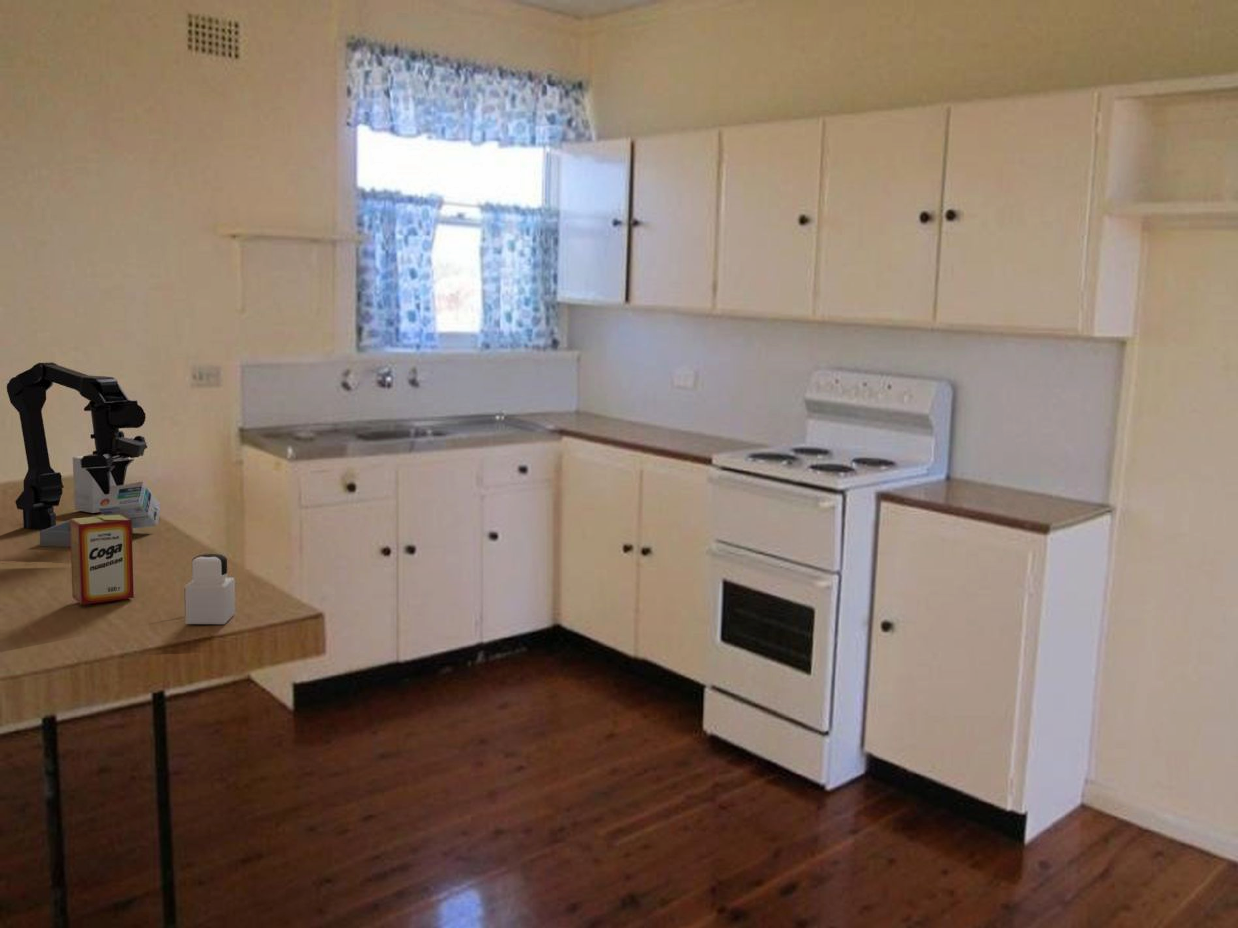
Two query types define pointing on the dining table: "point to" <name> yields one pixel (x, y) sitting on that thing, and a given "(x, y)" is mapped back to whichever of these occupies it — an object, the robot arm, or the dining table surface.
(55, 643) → the dining table surface
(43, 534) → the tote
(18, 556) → the dining table surface
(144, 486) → the light bulb box
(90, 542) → the baking soda box
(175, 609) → the dining table surface
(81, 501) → the supplement box
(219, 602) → the medicine bottle
